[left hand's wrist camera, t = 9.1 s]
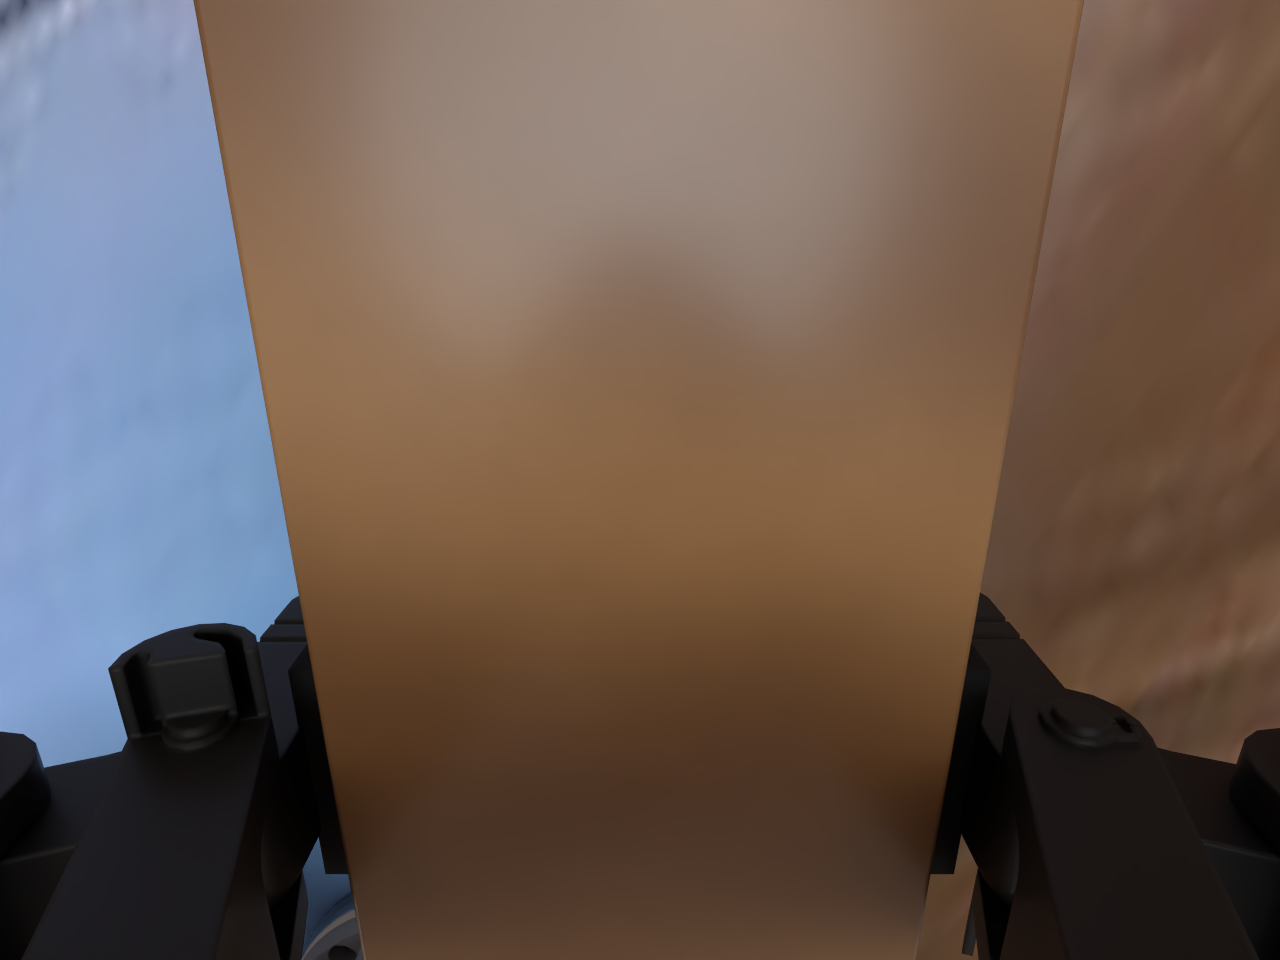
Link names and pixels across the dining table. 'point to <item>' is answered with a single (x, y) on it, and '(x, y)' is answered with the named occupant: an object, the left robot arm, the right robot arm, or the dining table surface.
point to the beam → (639, 442)
